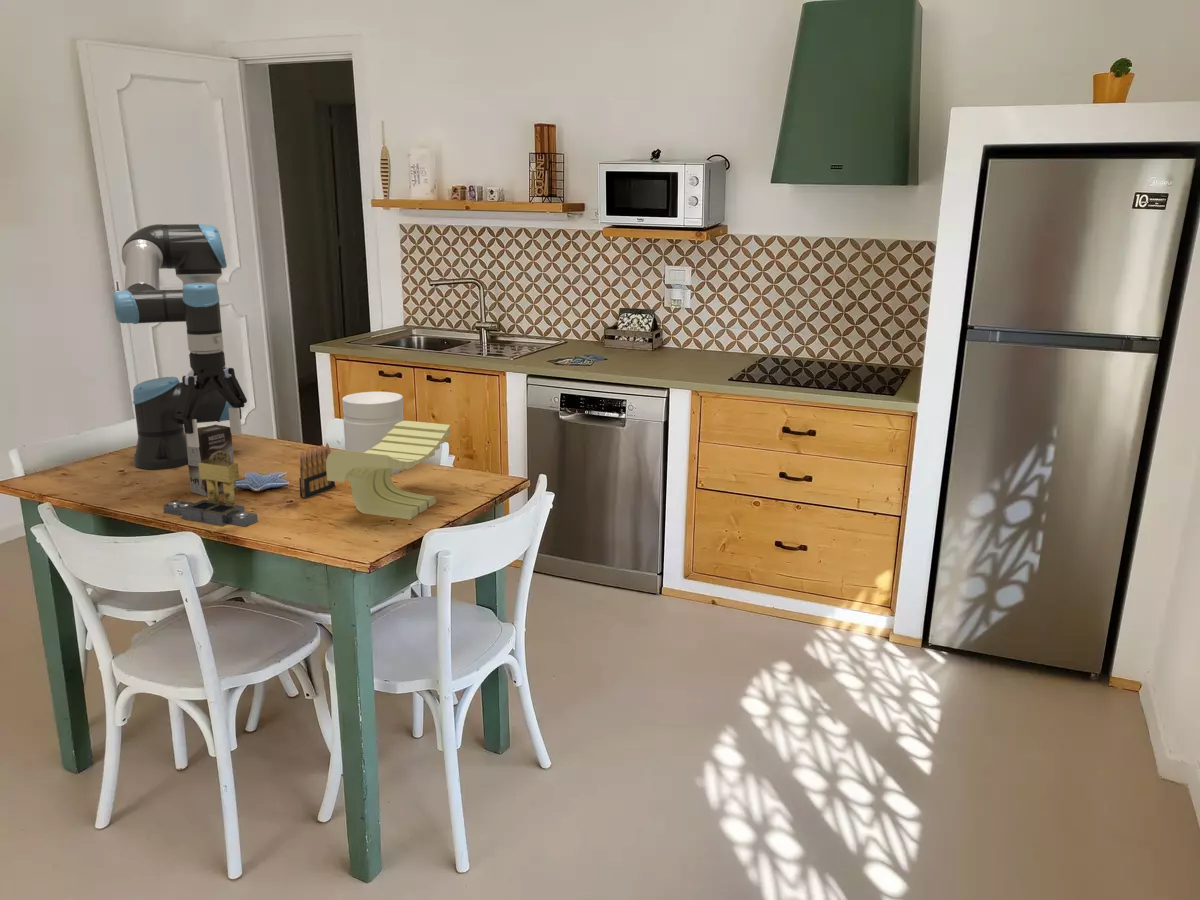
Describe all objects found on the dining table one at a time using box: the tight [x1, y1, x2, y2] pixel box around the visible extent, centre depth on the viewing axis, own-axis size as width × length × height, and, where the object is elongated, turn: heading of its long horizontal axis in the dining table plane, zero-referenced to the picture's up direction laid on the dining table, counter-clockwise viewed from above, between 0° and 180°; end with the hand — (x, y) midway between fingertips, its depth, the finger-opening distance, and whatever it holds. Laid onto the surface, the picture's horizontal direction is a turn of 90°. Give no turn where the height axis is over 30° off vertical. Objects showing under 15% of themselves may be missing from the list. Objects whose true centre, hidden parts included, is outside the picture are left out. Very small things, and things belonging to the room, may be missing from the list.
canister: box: [341, 391, 405, 475], centre depth 248 cm, size 16×16×20 cm
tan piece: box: [198, 459, 240, 505], centre depth 218 cm, size 9×3×10 cm, turn 69°
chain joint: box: [162, 499, 259, 527], centre depth 210 cm, size 24×7×2 cm, turn 69°
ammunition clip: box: [298, 442, 336, 499], centre depth 228 cm, size 11×2×12 cm, turn 154°
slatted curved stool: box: [326, 420, 451, 520], centre depth 217 cm, size 30×16×18 cm, turn 162°
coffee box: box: [184, 424, 237, 497], centre depth 228 cm, size 9×6×16 cm
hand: (215, 440), depth 215 cm, fingers open, 13 cm apart
